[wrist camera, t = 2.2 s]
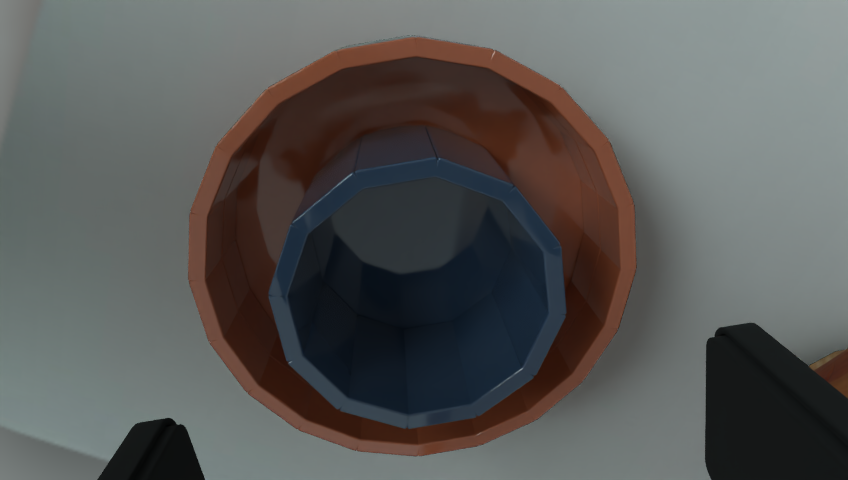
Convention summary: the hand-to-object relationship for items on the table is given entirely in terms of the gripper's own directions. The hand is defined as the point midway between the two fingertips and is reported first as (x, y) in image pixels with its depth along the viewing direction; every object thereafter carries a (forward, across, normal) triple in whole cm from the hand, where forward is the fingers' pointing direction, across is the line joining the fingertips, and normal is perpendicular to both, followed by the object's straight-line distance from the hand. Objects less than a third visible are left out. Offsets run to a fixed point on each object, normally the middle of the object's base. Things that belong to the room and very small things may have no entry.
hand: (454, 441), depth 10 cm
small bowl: (+11, 0, 0) cm, 11 cm away
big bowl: (+11, 0, 0) cm, 11 cm away
